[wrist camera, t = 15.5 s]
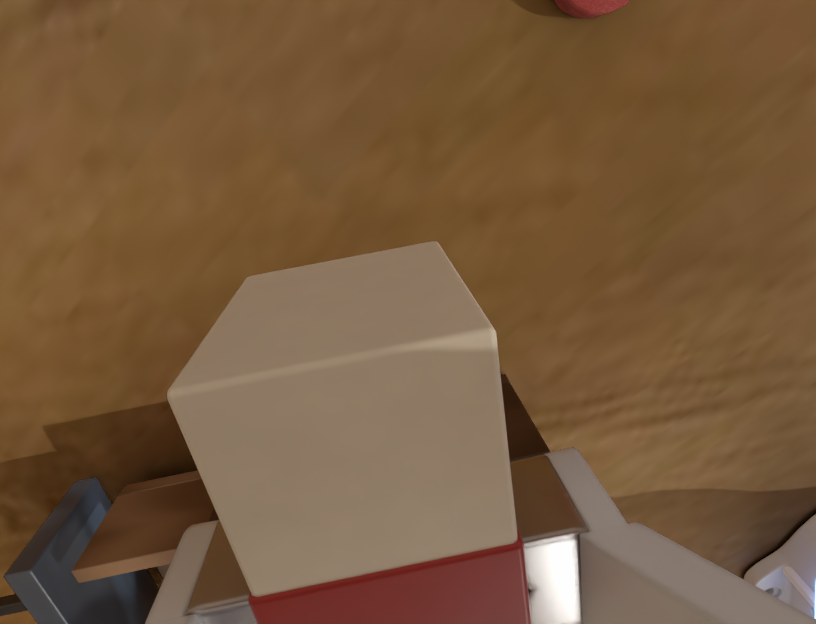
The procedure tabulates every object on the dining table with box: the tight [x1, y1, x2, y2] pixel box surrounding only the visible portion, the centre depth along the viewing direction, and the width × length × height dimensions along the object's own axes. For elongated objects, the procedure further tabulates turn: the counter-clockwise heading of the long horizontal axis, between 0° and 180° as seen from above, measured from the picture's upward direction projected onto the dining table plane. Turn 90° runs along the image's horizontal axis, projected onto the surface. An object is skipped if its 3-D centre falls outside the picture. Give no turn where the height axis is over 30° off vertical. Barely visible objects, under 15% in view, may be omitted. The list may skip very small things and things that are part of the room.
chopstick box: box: [167, 241, 531, 624], centre depth 8 cm, size 8×3×4 cm, turn 9°
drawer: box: [0, 470, 214, 624], centre depth 26 cm, size 20×12×6 cm, turn 100°
